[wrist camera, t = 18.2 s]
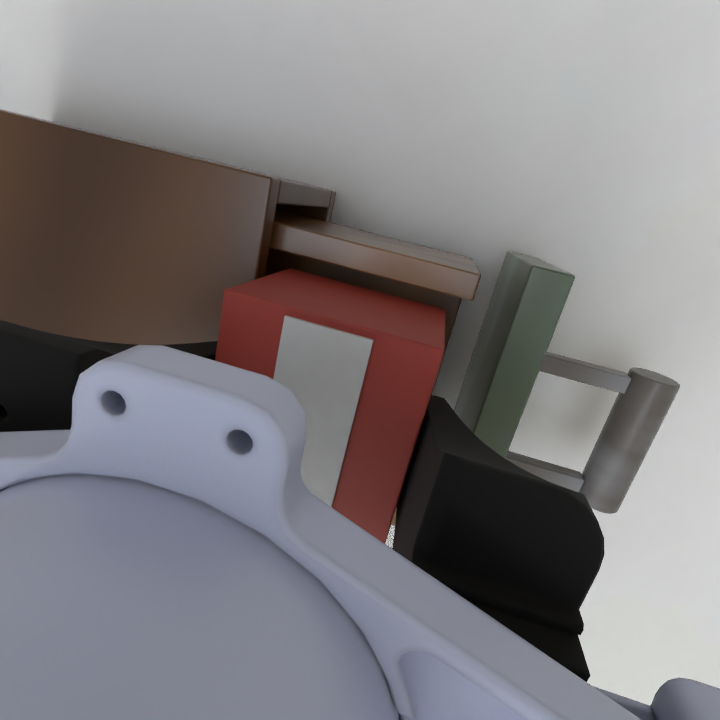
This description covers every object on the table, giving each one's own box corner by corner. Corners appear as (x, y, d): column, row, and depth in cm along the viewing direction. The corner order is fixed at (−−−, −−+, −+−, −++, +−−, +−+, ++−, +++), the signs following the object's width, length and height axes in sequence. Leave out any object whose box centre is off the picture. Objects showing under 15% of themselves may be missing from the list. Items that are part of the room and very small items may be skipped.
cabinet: (336, 191, 19) (272, 177, 12) (288, 428, 23) (219, 520, 16) (50, 121, 21) (-152, 72, 14) (49, 356, 24) (-111, 411, 17)
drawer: (669, 291, 17) (769, 324, 12) (568, 511, 21) (609, 614, 15) (238, 183, 19) (156, 170, 14) (209, 402, 22) (134, 460, 17)
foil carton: (289, 267, 14) (221, 289, 10) (446, 309, 14) (445, 351, 10) (258, 444, 16) (190, 524, 12) (393, 485, 16) (372, 585, 12)
